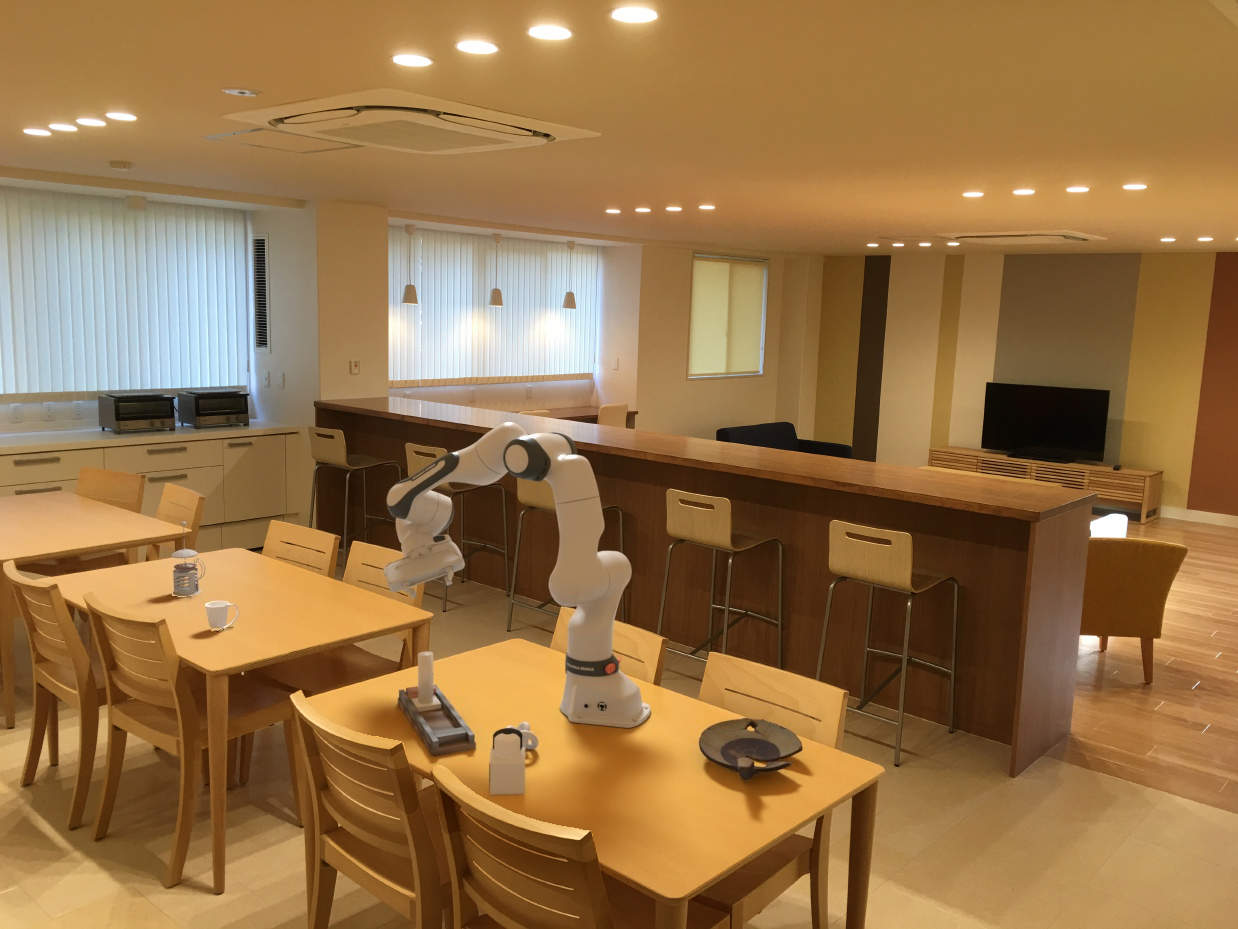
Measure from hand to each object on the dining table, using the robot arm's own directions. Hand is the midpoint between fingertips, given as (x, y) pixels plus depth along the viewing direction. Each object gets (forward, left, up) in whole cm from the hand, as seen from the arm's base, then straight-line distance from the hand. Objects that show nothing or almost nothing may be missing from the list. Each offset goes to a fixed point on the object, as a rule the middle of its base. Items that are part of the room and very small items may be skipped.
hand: (431, 589), depth 246 cm
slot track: (-13, +19, -27) cm, 35 cm away
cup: (+83, -14, -27) cm, 89 cm away
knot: (-38, +22, -27) cm, 51 cm away
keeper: (-7, +13, -25) cm, 29 cm away
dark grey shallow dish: (-85, +8, -27) cm, 90 cm away
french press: (+120, -37, -27) cm, 129 cm away
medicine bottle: (-43, +38, -27) cm, 63 cm away
